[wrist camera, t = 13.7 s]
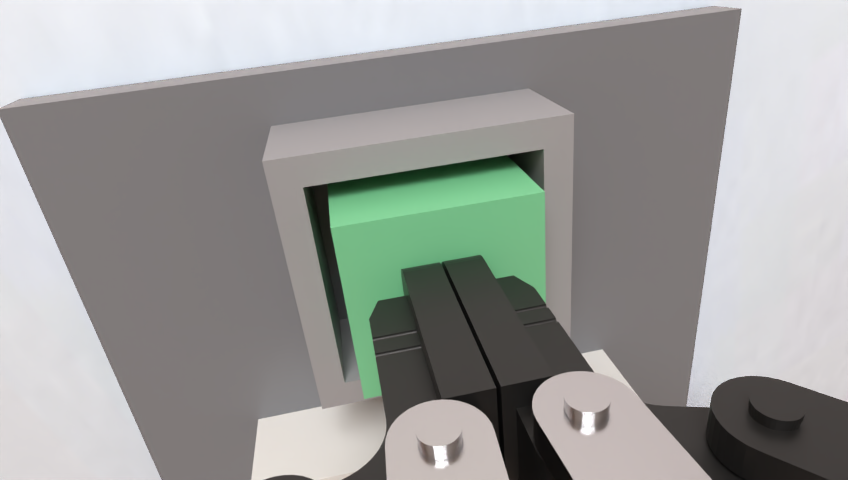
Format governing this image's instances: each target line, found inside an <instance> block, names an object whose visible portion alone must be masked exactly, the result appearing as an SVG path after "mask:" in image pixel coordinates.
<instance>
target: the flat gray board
mask: <svg viewBox="0 0 848 480" xmlns="http://www.w3.org/2000/svg"><path fill="white" fill-rule="evenodd" d="M740 16H741V9H739V8H729V7H718V6H711V7H704V8H696V9H689V10H681V11H674V12H666V13H659V14H651V15H644V16H636V17H629V18H621V19H614V20H607V21H599V22H592V23H584V24H577V25H569V26H562V27H554V28H547V29H539V30H532V31H525V32H517V33H510V34H502V35H495V36H487V37H480V38H472V39H465V40H457V41H450V42H442V43H435V44H428V45H420V46H413V47H405V48H398V49H390V50H383V51H375V52H368V53H360V54H353V55H345V56H338V57H331V58H323V59H316V60H308V61H301V62H293V63H286V64H278V65H271V66H263V67H256V68H249V69H241V70H234V71H226V72H219V73H211V74H204V75H196V76H189V77H181V78H174V79H166V80H159V81H152V82H144V83H137V84H129V85H122V86H114V87H107V88H99V89H92V90H84V91H77V92H69V93H62V94H55V95H47V96H40V97H32V98H25V99H19V100H17V101H15V102H13V103H10V104H8V105H6V106H4V107H1V108H0V118H1V120H2V122H3V125H4V127H5V129H6V131H7V134H8V136H9V138H10V140H11V143H12V145H13V147H14V149H15V151H16V154H17V156H18V158H19V160H20V163H21V165H22V167H23V169H24V172H25V174H26V176H27V178H28V181H29V183H30V185H31V187H32V190H33V192H34V194H35V196H36V199H37V201H38V203H39V205H40V208H41V210H42V212H43V214H44V217H45V219H46V221H47V223H48V226H49V228H50V230H51V232H52V235H53V237H54V239H55V241H56V243H57V246H58V248H59V250H60V252H61V255H62V257H63V259H64V261H65V264H66V266H67V268H68V270H69V273H70V275H71V277H72V279H73V282H74V284H75V286H76V288H77V291H78V293H79V295H80V297H81V300H82V302H83V304H84V306H85V309H86V311H87V313H88V315H89V318H90V320H91V322H92V324H93V327H94V329H95V331H96V333H97V335H98V338H99V340H100V342H101V344H102V347H103V349H104V351H105V353H106V356H107V358H108V360H109V362H110V365H111V367H112V369H113V371H114V374H115V376H116V378H117V380H118V383H119V385H120V387H121V389H122V392H123V394H124V396H125V398H126V401H127V403H128V405H129V407H130V410H131V412H132V414H133V416H134V418H135V421H136V423H137V425H138V427H139V430H140V432H141V434H142V436H143V439H144V441H145V443H146V445H147V448H148V450H149V452H150V454H151V457H152V459H153V461H154V463H155V466H156V468H157V470H158V472H159V475H160V477H161V479H162V480H264V479H268V478H271V477H275V476H281V475H299V476H304V477H308V478H311V479H313V480H342V479H344V478H346V477H348V476H349V475H351V474H353V473H354V472H356V471H358V470H359V469H360V468H362V467H363V466H364V465H365V464H367V463H368V462H369V461H370V460H371V459H372V458H373V456H374V455H375V454H376V452H377V451H378V450H379V448H380V446H381V444H382V443H383V440H384V437H385V434H386V416H385V410H384V405H383V399H382V395H381V396H377V397H372V398H367V399H364V395H363V390H362V385H361V380H360V375H359V370H358V365H357V360H356V355H355V350H354V345H353V340H352V335H351V330H350V324H349V319H348V314H347V309H346V304H345V299H344V294H343V289H342V284H341V279H340V274H339V269H338V264H337V259H336V253H335V248H334V243H333V238H332V233H331V228H330V215H329V201H328V187H327V184H328V183H334V182H341V181H347V180H353V179H360V178H366V177H372V176H378V175H385V174H391V173H397V172H404V171H410V170H416V169H422V168H429V167H435V166H441V165H447V164H454V163H460V162H466V161H473V160H479V159H485V158H491V157H498V156H504V155H507V156H508V157H509V158H510V159H511V160H512V161H513V162H514V163H515V164H516V165H517V166H519V167H520V168H521V169H522V170H523V171H524V172H525V173H526V174H527V175H528V176H529V177H530V178H531V179H532V180H533V181H534V182H535V183H536V184H537V185H538V186H539V187H540V188H541V189H542V190H543V191H545V270H546V306H547V308H548V307H549V309H550V310H551V312H552V313H553V314H554V316H555V317H556V321H557V322H559V323H560V324H561V326H562V327H563V329H564V330H565V331H566V333H567V334H568V336H569V337H570V339H571V340H572V341H573V343H574V344H575V346H576V347H577V348H578V350H579V351H580V353H581V354H582V356H583V357H584V358H585V360H586V361H587V363H588V364H589V365H590V367H591V368H592V370H593V371H594V373H599V374H603V375H606V376H609V377H612V378H614V379H616V380H618V381H620V382H622V383H623V384H625V385H626V386H627V387H629V388H630V389H631V390H632V391H633V392H634V393H635V394H636V395H637V396H638V397H639V399H640V400H641V401H642V402H643V403H647V404H652V405H661V406H681V407H686V404H687V396H688V389H689V382H690V375H691V368H692V361H693V353H694V346H695V339H696V332H697V325H698V318H699V310H700V303H701V296H702V289H703V282H704V274H705V267H706V260H707V253H708V246H709V239H710V231H711V224H712V217H713V210H714V203H715V196H716V188H717V181H718V174H719V167H720V160H721V153H722V145H723V138H724V131H725V124H726V117H727V110H728V102H729V95H730V88H731V81H732V74H733V67H734V59H735V52H736V45H737V38H738V31H739V23H740Z"/></svg>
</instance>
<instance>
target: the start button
mask: <svg viewBox="0 0 848 480" xmlns="http://www.w3.org/2000/svg"><path fill="white" fill-rule="evenodd" d="M327 187H328V201H329V215H330V228H331V233H332V238H333V243H334V248H335V253H336V259H337V264H338V269H339V274H340V279H341V284H342V289H343V294H344V299H345V304H346V309H347V314H348V319H349V324H350V330H351V335H352V340H353V345H354V350H355V355H356V360H357V365H358V370H359V375H360V380H361V385H362V390H363V395H364V399H367V398H372V397H377V396H381V395H382V393H381V387H380V381H379V375H378V369H377V363H376V357H375V351H374V346H373V340H372V334H371V328H370V322H369V318H370V316H371V314H372V312H373V310H374V308H375V306H376V304H377V301H379V300H385V299H390V298H395V297H401V296H404V292H403V285H402V277H401V269H405V268H410V267H416V266H421V265H427V264H432V263H438V262H440V263H442V262H443V261H448V260H454V259H459V258H465V257H470V256H476V255H481V256H482V257H483V258H484V260H485V262H486V263H487V265H488V267H489V268H490V270H491V271H492V273H493V275H494V276H495V278H496V279H497V278H502V277H507V276H513V275H514V276H516V277H517V278H519V279H521V280H522V281H524V282H526V283H528V284H529V285H531V286H533V287H534V288H535V289H536V290H537V292H538V293H539V295H540V296H541V298H542V299H543V300H544V302H545V303H546V270H545V191H543V190H542V189H541V188H540V187H539V186H538V185H537V184H536V183H535V182H534V181H533V180H532V179H531V178H530V177H529V176H528V175H527V174H526V173H525V172H524V171H523V170H522V169H521V168H520V167H519V166H517V165H516V164H515V163H514V162H513V161H512V160H511V159H510V158H509V157H508V156H507V155H504V156H498V157H491V158H485V159H479V160H473V161H466V162H460V163H454V164H447V165H441V166H435V167H429V168H422V169H416V170H410V171H404V172H397V173H391V174H385V175H378V176H372V177H366V178H360V179H353V180H347V181H341V182H334V183H328V184H327Z"/></svg>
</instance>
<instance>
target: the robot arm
mask: <svg viewBox="0 0 848 480" xmlns="http://www.w3.org/2000/svg"><path fill="white" fill-rule="evenodd" d="M401 277H402V285H403V292H404V296H401V297H395V298H390V299H385V300H379V301H377V304H376V306H375V308H374V310H373V312H372V314H371V316H370V318H369V322H370V328H371V334H372V340H373V346H374V351H375V357H376V363H377V369H378V375H379V381H380V387H381V393H382V399H383V405H384V410H385V416H386V434H385V437H384V440H383V443H382V444H381V446H380V448H379V450H378V451H377V452H376V454H375V455H374V456H373V458H372V459H371V460H370V461H369V462H368V463H367V464H365V465H364V466H363V467H362V468H360V469H359V470H358V471H356V472H354V473H353V474H351V475H349V476H348V477H346V478H344V479H342V480H848V402H845V401H842V400H839V399H836V398H833V397H830V396H827V395H824V394H821V393H818V392H816V391H813V390H810V389H807V388H804V387H801V386H798V385H795V384H792V383H789V382H785V381H782V380H778V379H774V378H769V377H760V376H745V377H737V378H734V379H730V380H728V381H726V382H723V383H722V384H721V385H719V386H718V387H717V388H716V389H715V391H714V392H713V395H712V397H711V403H710V408H707V407H681V406H661V405H652V404H647V403H643V402H642V401H641V400H640V399H639V397H638V396H637V395H636V394H635V393H634V392H633V391H632V390H631V389H630V388H629V387H627V386H626V385H625V384H623V383H622V382H620V381H618V380H616V379H614V378H612V377H609V376H606V375H603V374H599V373H594V371H593V370H592V368H591V367H590V365H589V364H588V363H587V361H586V360H585V358H584V357H583V356H582V354H581V353H580V351H579V350H578V348H577V347H576V346H575V344H574V343H573V341H572V340H571V339H570V337H569V336H568V334H567V333H566V331H565V330H564V329H563V327H562V326H561V324H560V323H559V322H557V321H556V317H555V316H554V314H553V313H552V312H551V310H550V309H549V307H548V308H547V306H546V303H545V302H544V300H543V299H542V298H541V296H540V295H539V293H538V292H537V290H536V289H535V288H534V287H533V286H531V285H529V284H528V283H526V282H524V281H522V280H521V279H519V278H517V277H516V276H514V275H513V276H507V277H502V278H497V279H496V278H495V276H494V275H493V273H492V271H491V270H490V268H489V267H488V265H487V263H486V262H485V260H484V258H483V257H482V256H481V255H476V256H470V257H465V258H459V259H454V260H448V261H443V262H442V263H440V262H438V263H432V264H427V265H421V266H416V267H410V268H405V269H401ZM264 480H313V479H311V478H308V477H304V476H299V475H281V476H275V477H271V478H268V479H264Z"/></svg>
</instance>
